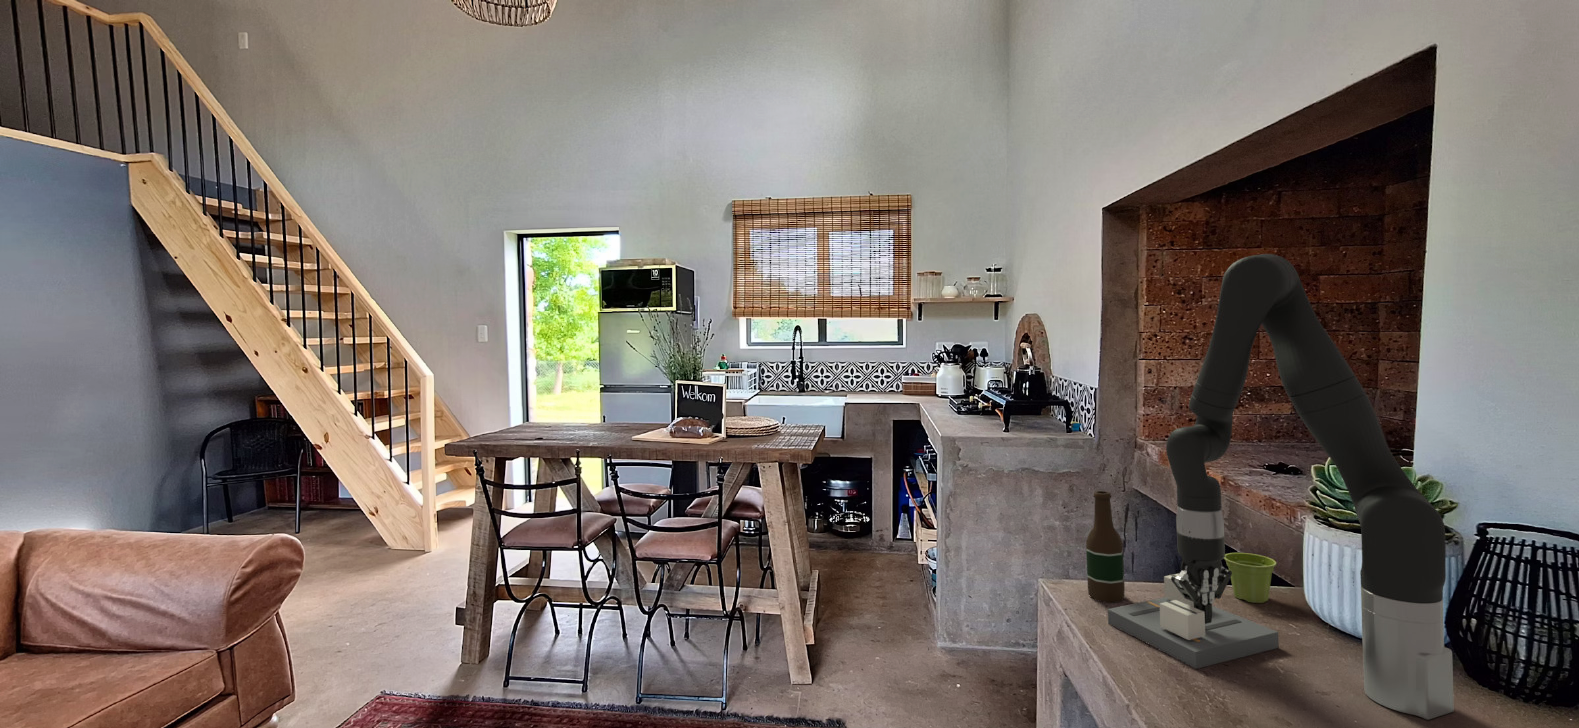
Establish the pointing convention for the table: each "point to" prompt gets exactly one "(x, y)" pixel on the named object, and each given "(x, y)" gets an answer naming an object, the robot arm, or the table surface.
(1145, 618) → the fader board
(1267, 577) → the plant pot
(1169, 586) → the block
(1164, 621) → the block
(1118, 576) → the beer bottle
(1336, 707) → the table surface
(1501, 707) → the table surface
